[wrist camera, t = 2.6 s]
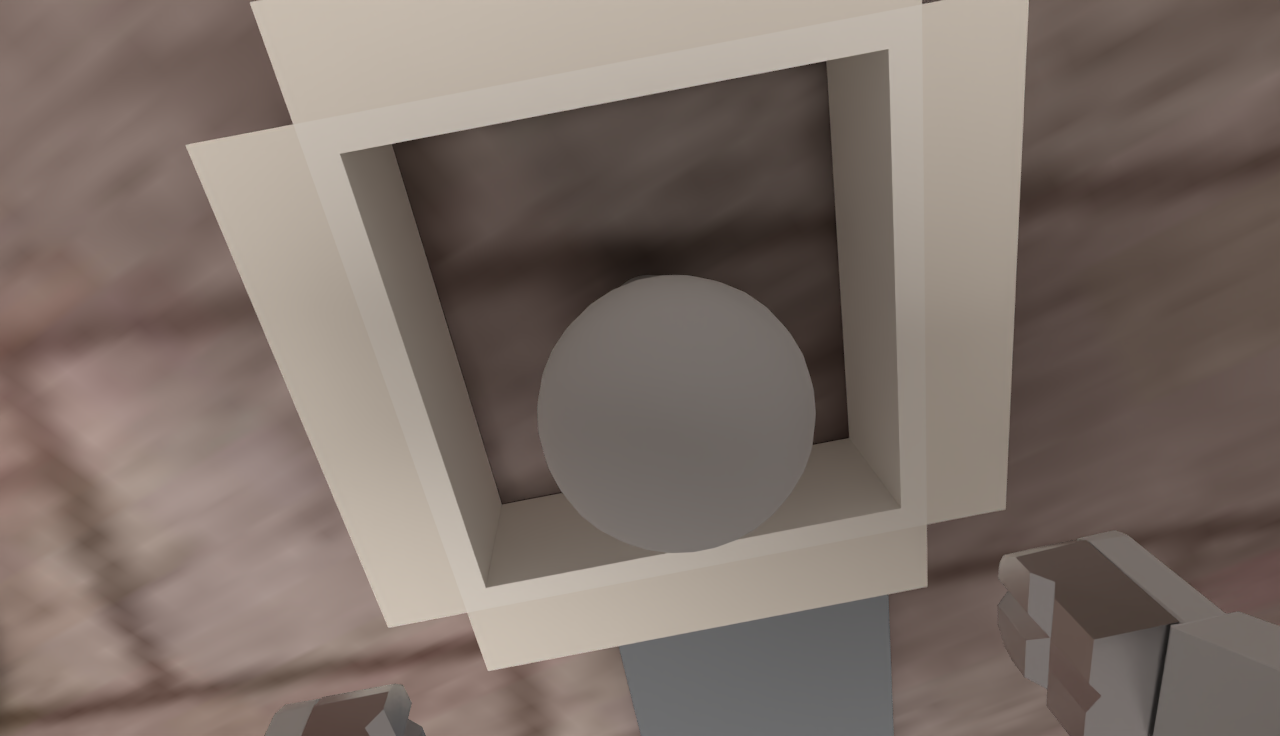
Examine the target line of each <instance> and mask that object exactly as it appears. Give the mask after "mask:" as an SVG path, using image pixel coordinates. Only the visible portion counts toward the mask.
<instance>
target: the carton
mask: <svg viewBox="0 0 1280 736" xmlns="http://www.w3.org/2000/svg"><path fill="white" fill-rule="evenodd" d="M250 5H251V7H252V10H253V13H254V16H255V19H256V21H257V24H258V27H259V30H260V33H261V35H262V38H263V41H264V44H265V47H266V49H267V52H268V55H269V58H270V61H271V63H272V66H273V69H274V72H275V75H276V78H277V80H278V83H279V86H280V89H281V92H282V94H283V97H284V100H285V103H286V106H287V108H288V111H289V114H290V117H291V120H292V122H293V125H287V126H282V127H277V128H272V129H266V130H261V131H256V132H251V133H245V134H240V135H235V136H230V137H224V138H219V139H214V140H209V141H203V142H198V143H193V144H188V145H186V148H187V150H188V152H189V155H190V157H191V160H192V162H193V164H194V167H195V169H196V171H197V174H198V176H199V179H200V181H201V183H202V186H203V188H204V190H205V193H206V195H207V198H208V200H209V202H210V205H211V207H212V209H213V212H214V214H215V217H216V219H217V221H218V224H219V226H220V228H221V231H222V233H223V236H224V238H225V240H226V243H227V245H228V248H229V250H230V252H231V255H232V257H233V259H234V262H235V264H236V267H237V269H238V271H239V274H240V276H241V278H242V281H243V283H244V286H245V288H246V290H247V293H248V295H249V297H250V300H251V302H252V305H253V307H254V309H255V312H256V314H257V316H258V319H259V321H260V324H261V326H262V328H263V331H264V333H265V336H266V338H267V340H268V343H269V345H270V347H271V350H272V352H273V355H274V357H275V359H276V362H277V364H278V366H279V369H280V371H281V374H282V376H283V378H284V381H285V383H286V385H287V388H288V390H289V393H290V395H291V397H292V400H293V402H294V404H295V407H296V409H297V412H298V414H299V416H300V419H301V421H302V423H303V426H304V428H305V431H306V433H307V435H308V438H309V440H310V443H311V445H312V447H313V450H314V452H315V454H316V457H317V459H318V462H319V464H320V466H321V469H322V471H323V473H324V476H325V478H326V481H327V483H328V485H329V488H330V490H331V492H332V495H333V497H334V500H335V502H336V504H337V507H338V509H339V511H340V514H341V516H342V519H343V521H344V523H345V526H346V528H347V531H348V533H349V535H350V538H351V540H352V542H353V545H354V547H355V550H356V552H357V554H358V557H359V559H360V561H361V564H362V566H363V569H364V571H365V573H366V576H367V578H368V580H369V583H370V585H371V588H372V590H373V592H374V595H375V597H376V599H377V602H378V604H379V607H380V609H381V611H382V614H383V616H384V619H385V621H386V623H387V626H388V628H390V627H395V626H401V625H406V624H411V623H416V622H421V621H427V620H432V619H437V618H442V617H448V616H453V615H458V614H463V613H467V614H468V616H469V619H470V622H471V625H472V628H473V630H474V633H475V636H476V639H477V642H478V644H479V647H480V650H481V653H482V656H483V658H484V661H485V664H486V667H487V670H488V671H491V670H497V669H502V668H507V667H512V666H518V665H523V664H528V663H533V662H538V661H544V660H549V659H554V658H559V657H564V656H570V655H575V654H580V653H585V652H590V651H596V650H601V649H606V648H611V647H616V646H622V645H627V644H632V643H637V642H643V641H648V640H653V639H658V638H663V637H669V636H674V635H679V634H684V633H689V632H695V631H700V630H705V629H710V628H715V627H721V626H726V625H731V624H736V623H741V622H747V621H752V620H757V619H762V618H767V617H773V616H778V615H783V614H788V613H794V612H799V611H804V610H809V609H814V608H820V607H825V606H830V605H835V604H840V603H846V602H851V601H856V600H861V599H866V598H872V597H877V596H882V595H887V594H892V593H898V592H903V591H908V590H913V589H919V588H924V587H928V585H927V524H932V523H937V522H943V521H948V520H953V519H958V518H963V517H969V516H974V515H979V514H984V513H989V512H995V511H1000V510H1005V509H1006V489H1007V467H1008V445H1009V423H1010V401H1011V379H1012V358H1013V336H1014V314H1015V292H1016V270H1017V248H1018V226H1019V204H1020V182H1021V160H1022V138H1023V116H1024V95H1025V73H1026V51H1027V29H1028V7H1029V0H942V1H937V2H931V3H926V4H922V0H259V1H254V2H250ZM823 61H826V65H827V81H828V98H829V114H830V131H831V147H832V164H833V180H834V197H835V213H836V230H837V246H838V263H839V279H840V295H841V312H842V328H843V345H844V361H845V378H846V394H847V411H848V427H849V438H846V439H841V440H836V441H831V442H825V443H820V444H815V445H812V450H811V453H810V456H809V459H808V462H807V465H806V467H805V470H804V472H803V474H802V476H801V477H800V479H799V481H798V483H797V484H796V486H795V488H794V489H793V491H792V492H791V494H790V495H789V496H788V498H787V499H786V500H785V501H784V503H783V504H782V505H781V506H780V507H779V508H778V509H777V511H776V512H775V513H774V514H773V515H772V516H771V517H770V518H768V519H767V520H766V521H765V522H763V523H762V524H761V525H760V526H759V527H757V528H756V529H755V530H753V531H751V532H749V533H748V534H746V535H744V536H742V537H741V538H739V539H737V540H735V541H732V542H729V543H727V544H724V545H721V546H719V547H716V548H712V549H707V550H702V551H697V552H686V553H666V552H658V551H650V550H646V549H643V548H639V547H636V546H633V545H630V544H627V543H624V542H622V541H620V540H618V539H616V538H614V537H612V536H610V535H608V534H606V533H604V532H602V531H600V530H599V529H597V528H596V527H595V526H594V525H592V524H591V523H590V522H589V521H587V520H586V519H585V518H583V517H582V516H581V515H580V514H579V513H578V511H577V510H576V509H575V508H574V507H573V505H572V504H571V503H570V502H569V501H568V500H567V498H566V497H565V496H564V494H563V493H559V494H554V495H549V496H544V497H538V498H533V499H528V500H523V501H518V502H512V503H507V504H502V503H501V500H500V497H499V494H498V490H497V487H496V484H495V480H494V477H493V474H492V471H491V467H490V464H489V461H488V458H487V454H486V451H485V448H484V444H483V441H482V438H481V435H480V431H479V428H478V425H477V422H476V418H475V415H474V412H473V408H472V405H471V402H470V399H469V395H468V392H467V389H466V385H465V382H464V379H463V376H462V372H461V369H460V366H459V363H458V359H457V356H456V353H455V349H454V346H453V343H452V340H451V336H450V333H449V330H448V327H447V323H446V320H445V317H444V313H443V310H442V307H441V304H440V300H439V297H438V294H437V291H436V287H435V284H434V281H433V277H432V274H431V271H430V268H429V264H428V261H427V258H426V255H425V251H424V248H423V245H422V241H421V238H420V235H419V232H418V228H417V225H416V222H415V218H414V215H413V212H412V209H411V205H410V202H409V199H408V196H407V192H406V189H405V186H404V182H403V179H402V176H401V173H400V169H399V166H398V163H397V160H396V156H395V153H394V150H393V146H392V144H394V143H399V142H404V141H409V140H415V139H420V138H425V137H430V136H436V135H441V134H446V133H451V132H456V131H462V130H467V129H472V128H477V127H483V126H488V125H493V124H498V123H504V122H509V121H514V120H519V119H525V118H530V117H535V116H540V115H545V114H551V113H556V112H561V111H566V110H572V109H577V108H582V107H587V106H593V105H598V104H603V103H608V102H613V101H619V100H624V99H629V98H634V97H640V96H645V95H650V94H655V93H661V92H666V91H671V90H676V89H682V88H687V87H692V86H697V85H702V84H708V83H713V82H718V81H723V80H729V79H734V78H739V77H744V76H750V75H755V74H760V73H765V72H771V71H776V70H781V69H786V68H791V67H797V66H802V65H807V64H812V63H818V62H823Z"/></svg>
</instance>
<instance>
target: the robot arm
mask: <svg viewBox="0 0 1280 736" xmlns="http://www.w3.org/2000/svg"><path fill="white" fill-rule="evenodd" d="M998 579H999V580H1000V582H1001V583H1002V584H1003V585H1004V586H1005V587H1006V589H1007V590H1008V592H1007V593H1006V594H1005V596H1004V597H1003V598H1002V600H1001V601H1000V602H999V604H998V627H999V630H1000V634H1001V637H1002V640H1003V643H1004V646H1005V648H1006V650H1007V652H1008V654H1009V655H1010V657H1011V659H1012V661H1013V662H1014V664H1015V665H1016V666H1017V668H1018V669H1019V671H1020V672H1021V673H1022V675H1023V676H1024V677H1025V678H1027V679H1029V680H1031V681H1033V682H1035V683H1037V684H1039V685H1041V686H1042V687H1044V688H1046V689H1047V707H1048V709H1049V710H1050V711H1051V712H1052V714H1053V715H1054V716H1055V718H1056V719H1057V720H1058V721H1059V723H1060V724H1061V725H1062V727H1063V728H1064V729H1065V730H1066V732H1067V733H1068V734H1069V736H1280V626H1278V625H1275V624H1272V623H1270V622H1267V621H1264V620H1261V619H1258V618H1256V617H1253V616H1250V615H1247V614H1244V613H1241V612H1233V613H1228V614H1226V613H1224V612H1223V611H1222V610H1221V609H1219V608H1218V607H1217V606H1216V605H1214V604H1213V603H1212V602H1211V601H1209V600H1208V599H1207V598H1206V597H1204V596H1203V595H1202V594H1201V593H1199V592H1198V591H1197V590H1196V589H1194V588H1193V587H1192V586H1191V585H1189V584H1188V583H1187V582H1186V581H1184V580H1183V579H1182V578H1181V577H1179V576H1178V575H1177V574H1176V573H1174V572H1173V571H1172V570H1171V569H1169V568H1168V567H1167V566H1166V565H1164V564H1163V563H1162V562H1161V561H1159V560H1158V559H1157V558H1156V557H1154V556H1153V555H1152V554H1151V553H1149V552H1148V551H1147V550H1146V549H1144V548H1143V547H1142V546H1141V545H1139V544H1138V543H1137V542H1136V541H1134V540H1133V539H1132V538H1131V537H1129V536H1128V535H1126V534H1124V533H1122V532H1119V531H1116V530H1113V531H1109V532H1104V533H1100V534H1095V535H1091V536H1087V537H1082V538H1078V539H1076V540H1070V541H1065V542H1061V543H1056V544H1052V545H1047V546H1043V547H1038V548H1034V549H1029V550H1025V551H1020V552H1015V553H1011V554H1006V555H1003V557H1002V559H1001V561H1000V563H999V576H998ZM411 704H412V703H411V701H410V699H409V696H408V694H407V692H406V690H405V688H404V686H403V685H399V684H391V685H385V686H380V687H375V688H369V689H364V690H358V691H353V692H348V693H342V694H337V695H331V696H326V697H322V698H321V699H315V700H309V701H304V702H298V703H292V704H287V705H284V706H283V707H282V708H281V709H280V710H279V711H278V712H277V713H275V715H274V716H273V718H272V721H271V723H270V725H269V727H268V729H267V731H266V733H265V735H264V736H426V735H425V733H424V730H423V728H422V727H421V726H420V725H418V724H416V723H414V722H413V721H411V720H409V719H408V716H409V712H410V708H411Z"/></svg>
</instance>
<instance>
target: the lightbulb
mask: <svg viewBox="0 0 1280 736" xmlns="http://www.w3.org/2000/svg"><path fill="white" fill-rule="evenodd" d="M815 418H816V409H815V398H814V389H813V385H812V381H811V377H810V374H809V371H808V368H807V365H806V362H805V359H804V356H803V354H802V352H801V350H800V349H799V347H798V345H797V344H796V342H795V340H794V339H793V337H792V335H791V334H790V332H789V331H788V330H787V329H786V327H785V326H784V325H783V324H782V323H781V322H780V321H779V320H778V319H777V318H776V317H775V316H774V314H773V313H772V312H771V311H770V310H769V309H768V308H767V307H766V306H764V305H763V304H761V303H760V302H758V301H757V300H756V299H754V298H753V297H751V296H750V295H748V294H747V293H745V292H743V291H741V290H738V289H736V288H734V287H731V286H729V285H726V284H724V283H721V282H718V281H715V280H710V279H705V278H700V277H695V276H689V275H660V276H656V275H641V276H637V277H634V278H632V279H629V280H628V281H626V282H625V283H623V284H622V285H621V286H620V287H618V288H616V289H614V290H611V291H610V292H608V293H607V294H605V295H604V296H602V297H601V298H599V299H598V300H596V301H595V302H593V303H592V304H590V305H589V306H588V307H587V308H586V309H585V310H584V311H583V312H582V313H581V314H580V315H579V316H578V317H577V318H576V319H575V320H574V321H573V322H572V323H571V324H570V325H569V326H568V327H567V329H566V330H565V331H564V333H563V334H562V336H561V337H560V339H559V340H558V342H557V343H556V345H555V346H554V348H553V349H552V352H551V354H550V356H549V359H548V361H547V364H546V366H545V369H544V371H543V375H542V380H541V386H540V392H539V398H538V405H537V419H538V434H539V437H540V441H541V445H542V448H543V452H544V456H545V459H546V462H547V466H548V468H549V470H550V472H551V474H552V476H553V478H554V480H555V481H556V483H557V485H558V487H559V489H560V490H561V492H562V493H563V494H564V496H565V497H566V498H567V500H568V501H569V502H570V503H571V504H572V505H573V507H574V508H575V509H576V510H577V511H578V513H579V514H580V515H581V516H582V517H583V518H585V519H586V520H587V521H589V522H590V523H591V524H592V525H594V526H595V527H596V528H597V529H599V530H600V531H602V532H604V533H606V534H608V535H610V536H612V537H614V538H616V539H618V540H620V541H622V542H624V543H627V544H630V545H633V546H636V547H639V548H643V549H646V550H650V551H658V552H666V553H686V552H697V551H702V550H707V549H712V548H716V547H719V546H721V545H724V544H727V543H729V542H732V541H735V540H737V539H739V538H741V537H742V536H744V535H746V534H748V533H749V532H751V531H753V530H755V529H756V528H757V527H759V526H760V525H761V524H762V523H763V522H765V521H766V520H767V519H768V518H770V517H771V516H772V515H773V514H774V513H775V512H776V511H777V509H778V508H779V507H780V506H781V505H782V504H783V503H784V501H785V500H786V499H787V498H788V496H789V495H790V494H791V492H792V491H793V489H794V488H795V486H796V484H797V483H798V481H799V479H800V477H801V476H802V474H803V472H804V470H805V467H806V465H807V462H808V459H809V456H810V453H811V450H812V444H813V436H814V428H815Z"/></svg>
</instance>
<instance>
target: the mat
mask: <svg viewBox="0 0 1280 736" xmlns="http://www.w3.org/2000/svg"><path fill="white" fill-rule="evenodd" d="M619 649H620V653H621V657H622V661H623V665H624V669H625V673H626V677H627V681H628V685H629V690H630V694H631V698H632V702H633V706H634V710H635V714H636V718H637V722H638V726H639V730H640V734H641V736H894V729H893V703H892V677H891V651H890V625H889V600H888V594H887V595H882V596H877V597H872V598H866V599H861V600H856V601H851V602H846V603H840V604H835V605H830V606H825V607H820V608H814V609H809V610H804V611H799V612H794V613H788V614H783V615H778V616H773V617H767V618H762V619H757V620H752V621H747V622H741V623H736V624H731V625H726V626H721V627H715V628H710V629H705V630H700V631H695V632H689V633H684V634H679V635H674V636H669V637H663V638H658V639H653V640H648V641H643V642H637V643H632V644H627V645H622V646H619Z"/></svg>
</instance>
